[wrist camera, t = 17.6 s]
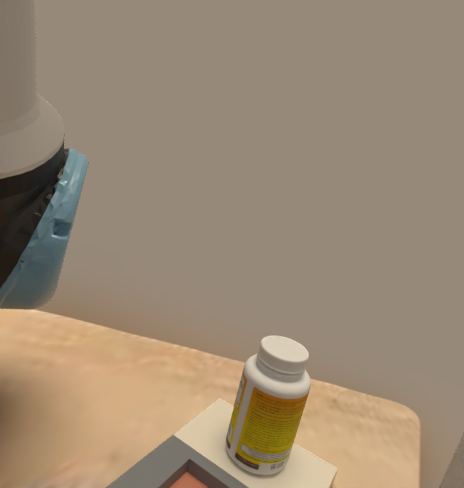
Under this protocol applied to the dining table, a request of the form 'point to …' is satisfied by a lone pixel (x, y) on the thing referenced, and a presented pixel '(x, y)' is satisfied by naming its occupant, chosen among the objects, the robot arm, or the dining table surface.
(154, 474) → the board
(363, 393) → the dining table surface
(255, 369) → the supplement bottle
